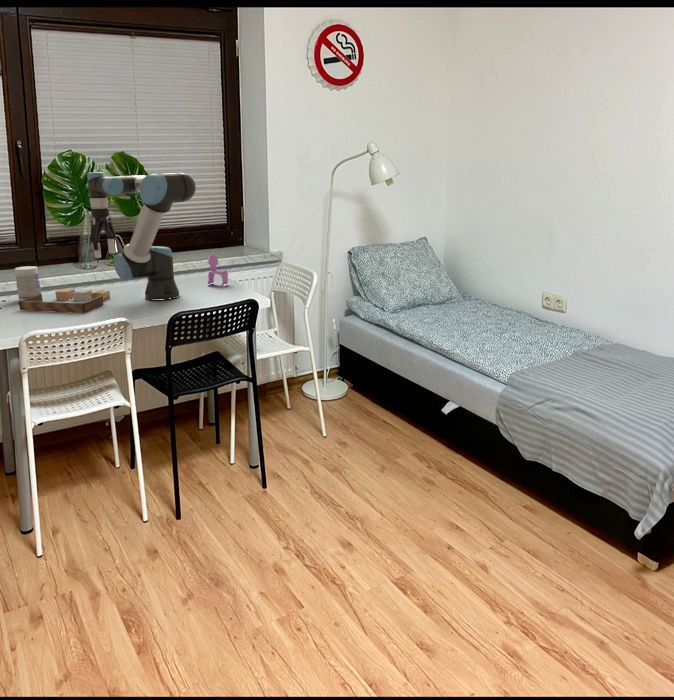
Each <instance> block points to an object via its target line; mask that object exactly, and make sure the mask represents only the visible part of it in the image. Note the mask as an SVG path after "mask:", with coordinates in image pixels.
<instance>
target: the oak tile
mask: <svg viewBox="0 0 674 700" xmlns="http://www.w3.org/2000/svg"><path fill="white" fill-rule="evenodd" d="M110 293H111V292H110V290H105V289H104V290H103V289H97V290H92V292H91V293H90V296H91V299H90V300H92V299H94V298H97V297H99V296H103V301H104V302H106V301H108V300H107V299H109V300H111V294H110ZM105 300H106V301H105Z"/></svg>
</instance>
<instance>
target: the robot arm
mask: <svg viewBox="0 0 674 700" xmlns="http://www.w3.org/2000/svg"><path fill="white" fill-rule="evenodd" d="M86 176H87V180H86V181H87V187H88V193H89V203H90V208H91V209H90V211H91V217H92V218H94V219H91V221H90V222H91V226H90V235H89V237H90V238H89V243H91V244H92V245H93V253H94V258H95V259H96V258H98V259H99V258H100V259H101V258H102V252H101V244H100V242H99V241H100V238H101V234H102V231H104V233H105V235H106V237H107V246H108V247H107V249H108V253H109V254H114V255H113V256H114V257H113V267H114V270H115V272H116V274H117V276H118V277H119V279H121V280H123V281H132V280H137V279H144V278H147V283H146V287H145V291H144V298H147V299H169V298H174V297H177V296H179V297H180V290H179V288H178V286H177V282H176V281H175V275H174V274H175V272H174V270H175V269H174V259H173V258H174V257H173V252H172V249H171V247H168V246H160V245H158V246H157V245H153V243H154V241H155V238H156V235H157V233H158V230H159V228H160V225H161V222H162V220H163V218H164V215H165V214H166V213H168V212H170V210H171V208H172V206H173V204H176V203H177V204H178V203H185V202H187V201H189V200H191V199H192V198H193V197H194V196H195V194H196V189H197V185H196V182H195V180H194V179H193V177H192V176H190V175H189V174H188V173H187V174H186V173H183V172H169V173H158V172H157V173H151V174H147V175H141V174H136V175H121V176H120V175H119V176H106V173H105V172H104V171H93V172H91V171H90V172H88V173H87V175H86ZM126 194H127V195H128V194H139V196H140V197H139V198H140V199H141V203H142V204H143V206H142V209H141V212H140V214H139V216H138V220H137V223H136V225H135V228H134V230H133V232H132V236H131V239H130V241H129V243H127V244H125V246H123V249H122V252H119V253H116V250H115V249H116V247H115V246H116V245H115V240H116V239H117V234H116V231H115V229H114V226H113V224H112V218H111V217H109V216H110V208H109V199H108V195H110V196H117V195H126ZM147 299H146V300H147Z"/></svg>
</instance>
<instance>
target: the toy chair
mask: <svg viewBox="0 0 674 700" xmlns="http://www.w3.org/2000/svg"><path fill="white" fill-rule="evenodd" d="M207 262H208V264H209V265H210V266H209V267H210V271H208V274H207V276H208V280H207V284H210V283H213V282H214V283H215V276H216V275H220V277H221V279H222V283H221V286H222V285H224V284H227V283H228V284H229V281H228V280H229V273H228V270H226V269H217V266H218V265H219V258H218V257H217V256H216V255H214V254H211V255H209V257H208V261H207Z"/></svg>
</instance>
